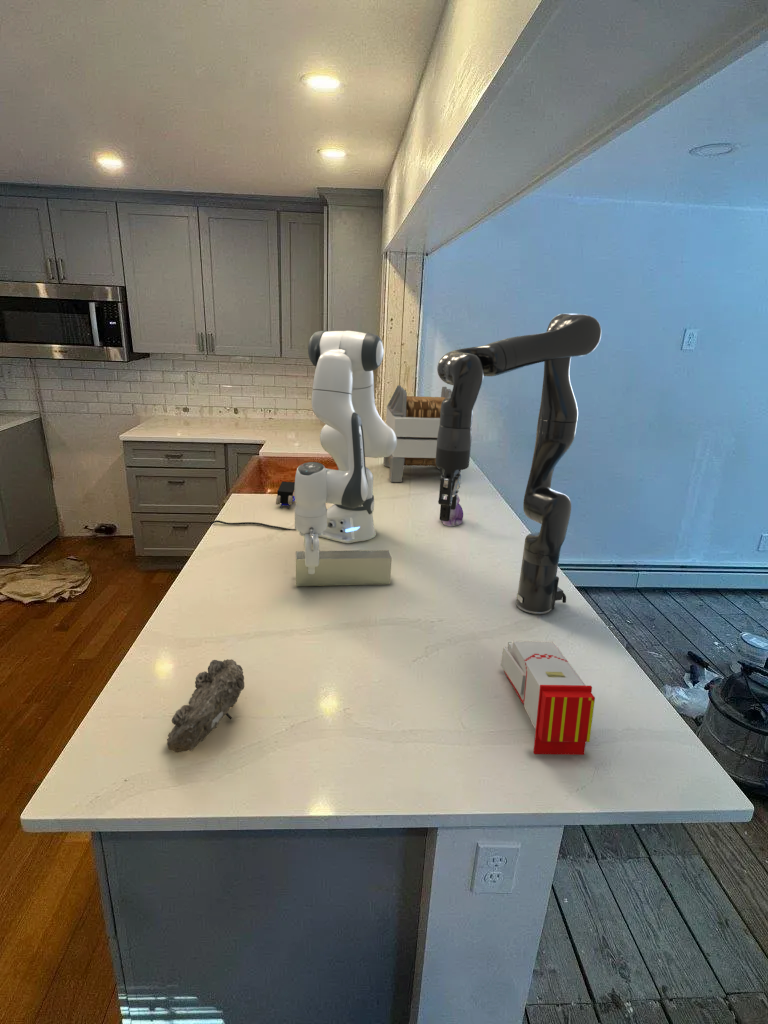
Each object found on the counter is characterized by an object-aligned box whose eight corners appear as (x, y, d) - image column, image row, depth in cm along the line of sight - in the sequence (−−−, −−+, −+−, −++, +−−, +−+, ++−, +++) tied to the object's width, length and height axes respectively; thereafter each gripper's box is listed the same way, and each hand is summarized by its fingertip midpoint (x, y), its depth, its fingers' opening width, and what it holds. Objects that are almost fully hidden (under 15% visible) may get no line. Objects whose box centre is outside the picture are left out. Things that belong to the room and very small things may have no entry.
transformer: (382, 463, 289) (386, 382, 275) (445, 464, 293) (451, 384, 279) (390, 482, 257) (394, 392, 243) (460, 483, 261) (468, 394, 247)
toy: (549, 624, 127) (604, 693, 98) (544, 678, 130) (596, 762, 100) (496, 622, 127) (535, 692, 97) (491, 677, 129) (528, 761, 100)
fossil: (192, 660, 117) (244, 628, 112) (224, 691, 120) (276, 661, 115) (142, 746, 98) (202, 712, 93) (182, 779, 101) (242, 748, 96)
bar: (295, 586, 159) (295, 559, 156) (295, 577, 164) (295, 551, 161) (390, 584, 163) (391, 557, 160) (387, 576, 168) (388, 549, 165)
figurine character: (293, 513, 218) (297, 497, 231) (292, 495, 215) (297, 480, 228) (275, 513, 218) (281, 496, 231) (274, 495, 214) (280, 479, 228)
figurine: (448, 528, 206) (452, 489, 201) (433, 519, 215) (436, 481, 210) (470, 525, 210) (473, 486, 205) (454, 516, 219) (457, 479, 214)
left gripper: (324, 536, 147) (324, 584, 151) (320, 509, 166) (320, 552, 170) (299, 536, 146) (300, 584, 150) (298, 509, 165) (299, 553, 169)
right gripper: (466, 454, 118) (459, 527, 123) (474, 440, 131) (468, 507, 136) (430, 450, 120) (425, 522, 125) (442, 437, 133) (437, 503, 138)
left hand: (310, 567), depth 160 cm, fingers open, 6 cm apart
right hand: (447, 514), depth 131 cm, fingers open, 8 cm apart
